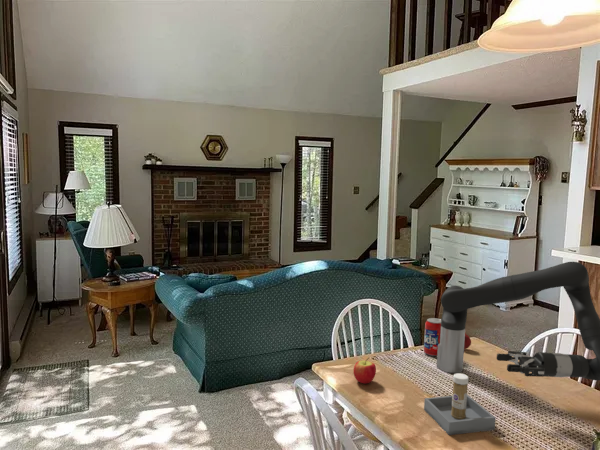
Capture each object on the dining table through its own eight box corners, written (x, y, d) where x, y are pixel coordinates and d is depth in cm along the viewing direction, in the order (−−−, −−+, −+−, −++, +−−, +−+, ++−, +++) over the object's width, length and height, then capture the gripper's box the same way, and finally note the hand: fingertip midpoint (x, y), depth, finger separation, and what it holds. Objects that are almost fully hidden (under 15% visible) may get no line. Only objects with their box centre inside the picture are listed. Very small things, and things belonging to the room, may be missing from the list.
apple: (365, 389, 175) (366, 362, 173) (348, 381, 181) (349, 355, 180) (380, 382, 180) (381, 357, 179) (362, 375, 186) (363, 350, 185)
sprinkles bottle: (448, 416, 154) (451, 375, 153) (454, 411, 158) (456, 371, 156) (462, 421, 152) (465, 380, 150) (468, 415, 155) (470, 375, 153)
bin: (448, 435, 145) (449, 422, 145) (423, 409, 160) (424, 398, 160) (494, 429, 149) (495, 417, 148) (466, 405, 164) (467, 394, 164)
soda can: (446, 355, 208) (448, 321, 207) (433, 358, 204) (435, 324, 202) (432, 349, 215) (434, 316, 213) (419, 352, 211) (421, 319, 209)
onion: (471, 352, 212) (472, 335, 211) (457, 351, 213) (458, 333, 212) (469, 348, 217) (470, 330, 217) (456, 346, 219) (457, 329, 218)
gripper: (543, 345, 163) (494, 342, 163) (565, 362, 149) (512, 360, 149) (540, 366, 164) (492, 364, 164) (562, 385, 150) (510, 383, 150)
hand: (502, 362), depth 156 cm, fingers open, 8 cm apart
